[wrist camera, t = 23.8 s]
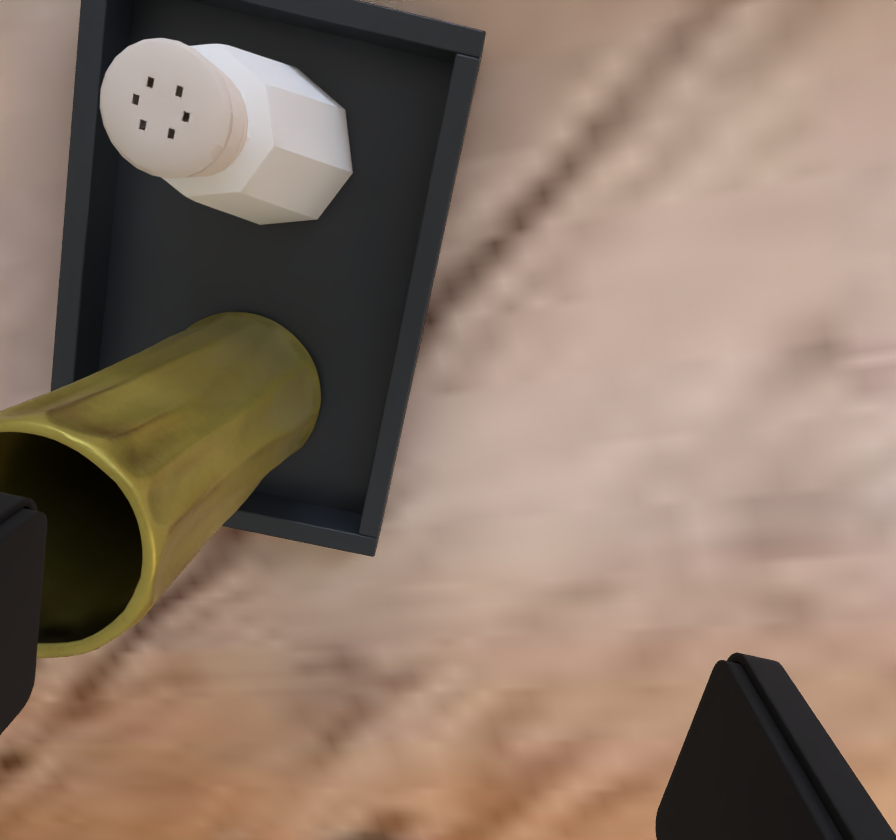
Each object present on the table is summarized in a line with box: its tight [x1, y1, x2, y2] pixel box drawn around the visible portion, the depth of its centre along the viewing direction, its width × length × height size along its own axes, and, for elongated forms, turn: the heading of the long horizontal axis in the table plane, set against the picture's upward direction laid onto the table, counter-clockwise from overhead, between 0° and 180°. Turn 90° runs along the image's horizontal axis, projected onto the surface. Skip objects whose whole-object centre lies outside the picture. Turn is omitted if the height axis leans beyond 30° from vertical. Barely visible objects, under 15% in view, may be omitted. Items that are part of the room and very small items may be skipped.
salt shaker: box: [100, 38, 353, 225], centre depth 21 cm, size 5×5×11 cm
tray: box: [51, 0, 486, 557], centre depth 27 cm, size 19×13×2 cm
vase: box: [0, 312, 321, 658], centre depth 22 cm, size 6×6×14 cm
